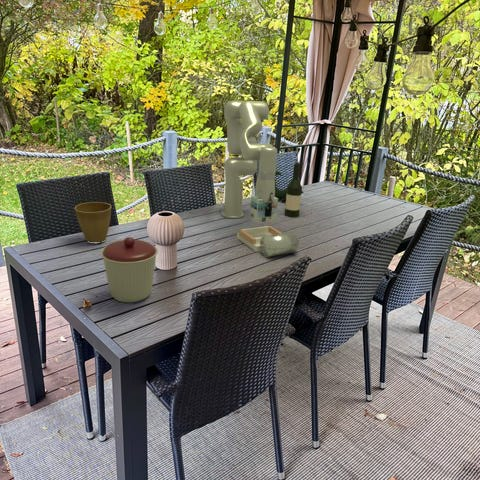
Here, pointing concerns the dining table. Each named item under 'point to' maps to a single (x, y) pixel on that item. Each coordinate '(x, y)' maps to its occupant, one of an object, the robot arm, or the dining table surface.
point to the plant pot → (94, 220)
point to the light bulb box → (262, 210)
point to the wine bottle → (293, 194)
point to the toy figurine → (280, 191)
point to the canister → (129, 268)
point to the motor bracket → (269, 240)
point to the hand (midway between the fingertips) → (263, 213)
